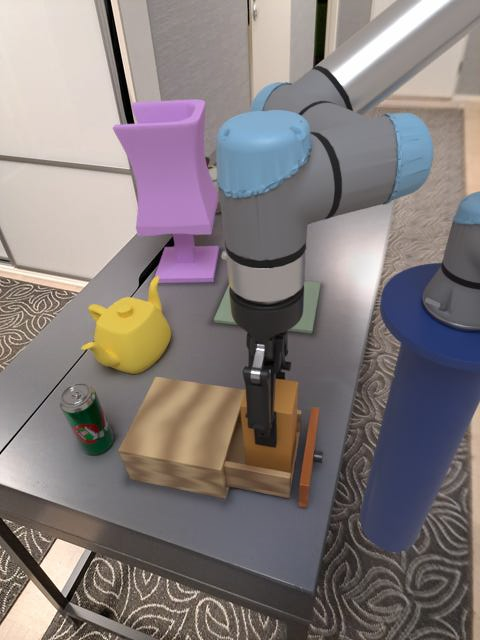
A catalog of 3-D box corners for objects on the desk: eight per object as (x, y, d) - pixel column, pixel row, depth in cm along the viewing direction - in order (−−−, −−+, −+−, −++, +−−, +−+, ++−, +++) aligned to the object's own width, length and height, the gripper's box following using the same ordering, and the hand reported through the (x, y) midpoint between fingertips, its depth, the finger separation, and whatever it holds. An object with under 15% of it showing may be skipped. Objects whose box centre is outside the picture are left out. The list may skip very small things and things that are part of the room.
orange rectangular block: (296, 444, 65) (298, 381, 56) (290, 475, 62) (292, 414, 52) (253, 436, 67) (249, 374, 58) (246, 467, 63) (239, 405, 54)
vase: (162, 249, 113) (132, 102, 90) (223, 247, 112) (208, 98, 89) (149, 285, 101) (111, 127, 79) (217, 284, 100) (198, 123, 77)
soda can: (97, 425, 73) (75, 376, 65) (121, 436, 71) (101, 387, 63) (75, 449, 69) (49, 401, 62) (100, 461, 67) (76, 413, 60)
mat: (320, 285, 97) (320, 282, 97) (312, 333, 86) (312, 330, 85) (233, 277, 102) (233, 274, 101) (213, 322, 90) (213, 319, 90)
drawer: (325, 432, 68) (327, 409, 64) (316, 510, 59) (318, 488, 55) (232, 417, 71) (230, 394, 67) (211, 488, 62) (206, 466, 58)
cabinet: (248, 420, 72) (245, 389, 67) (226, 499, 62) (221, 470, 57) (164, 406, 75) (155, 376, 70) (130, 479, 65) (117, 450, 60)
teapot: (132, 305, 96) (120, 264, 89) (193, 323, 90) (186, 280, 83) (61, 375, 82) (40, 332, 75) (128, 401, 76) (112, 357, 69)
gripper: (250, 233, 51) (257, 368, 67) (202, 343, 38) (225, 481, 53) (315, 237, 50) (307, 375, 65) (289, 354, 36) (287, 494, 51)
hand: (270, 423), depth 59 cm, fingers open, 6 cm apart
